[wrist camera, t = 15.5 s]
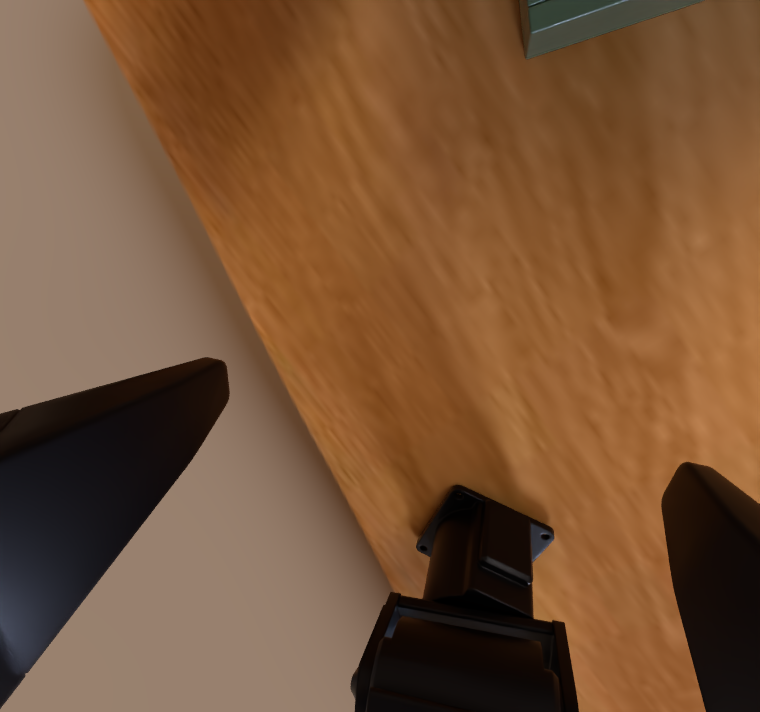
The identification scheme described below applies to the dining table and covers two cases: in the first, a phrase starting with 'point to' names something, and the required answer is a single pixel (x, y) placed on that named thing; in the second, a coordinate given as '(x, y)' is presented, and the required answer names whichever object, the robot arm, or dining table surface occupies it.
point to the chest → (583, 19)
